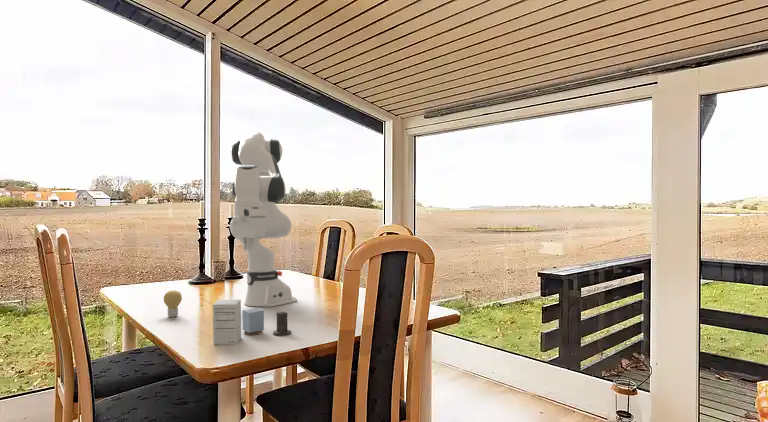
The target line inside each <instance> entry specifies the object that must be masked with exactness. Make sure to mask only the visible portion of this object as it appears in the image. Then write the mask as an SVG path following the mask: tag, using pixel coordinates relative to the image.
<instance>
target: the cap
mask: <svg viewBox="0 0 768 422" xmlns="http://www.w3.org/2000/svg"><path fill="white" fill-rule="evenodd" d="M242 330H243V332H244V331H246V332H249V333H251V332H257V331H265V311H264V309H260V308H258V307H257V308H256V307H255V308H249V309H248V308H247V309H242Z"/></svg>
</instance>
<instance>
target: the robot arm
mask: <svg viewBox="0 0 768 422" xmlns="http://www.w3.org/2000/svg"><path fill="white" fill-rule="evenodd" d="M282 156H283V147H282V144H281V143H280V141H279V140H278V139H276V138H275V139H274V138H269V139H268V138H265V136H264V134H262V133H261V132H260V131H257V130H249V131H247V132H245V133H244V134H243V136H242V138H241V140H237V141H234V142H232V144H231V146H230V157H231V159H232V162H233V163H234V164H236V165H238V166H237V167H236V169H235V175H234V180H233V181H231V183H232V196H233V197H234V198H235V199H234V216H233V217H232V218H231V221H230V222H229V230H230V233H231V235H232V237H234V238H235V239H237V240H238V241H239V242H240V243H241V244H242V246H243V250H244V251H245V252H246V257H247V269H248V270H247V272H246V284H247V287H246V290H247V291H246V296H245V300H244V304H243V305H245V306H249V307H269V308H270V307H271V308H272V307H276V306H281V305H286V304H291V303H296V302H297V301H298V300H297V299H298V298H297V297H295V296H292V295H293V294H292V289H291V287H290V286H289V285H288V284H286V283H285V282H284V281H282V279H279V277H282V275H283V272H282V271H281V270H278V271H277V270H276V269H275V253H274V251H273V250H272V249H270V248H268V247H267V246H265V245H262V243H260V240H261V239H263V240H265V239H266V240H267V239H269V240H270V239H272V240H273V239H280V238H285V237H287V236H289V234H290V233H291V230H292V222H291V221H292V220H291V219H290V217H289V216H288V215H287V214H286V213H283V212H282V211H281V210H280V209H279V208H278V206H277V203H280V202H281V201H282V200H283V199H284V198H285V195H286V184H285V181H284V178H283V177H282V174H281V171H280V168H279V162H280V161H281V159H282Z"/></svg>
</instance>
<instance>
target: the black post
mask: <svg viewBox="0 0 768 422" xmlns="http://www.w3.org/2000/svg"><path fill="white" fill-rule="evenodd" d="M291 334H292V331H291V330H290V329H288V312H286V311H278V312H276V330H274V331H273V332H272V335H273V336H276V337H285V336H289V335H291Z"/></svg>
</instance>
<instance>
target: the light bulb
mask: <svg viewBox="0 0 768 422" xmlns="http://www.w3.org/2000/svg"><path fill="white" fill-rule="evenodd" d="M182 300H183V297H182V293H181V292H180V291H178V290H175V289H174V290H169V291H167V292H166V293H165V294H164V295H163V303H164V304H165V306H167V317H169V318H175V317H177V316H178V315H179V306H180V304H181V302H182Z"/></svg>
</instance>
